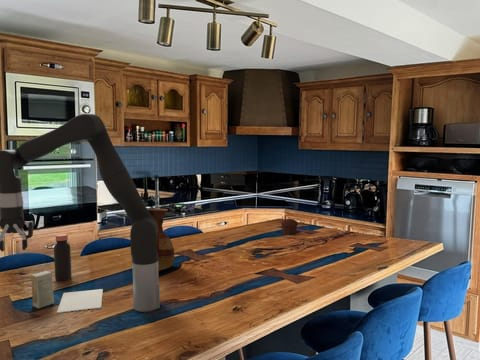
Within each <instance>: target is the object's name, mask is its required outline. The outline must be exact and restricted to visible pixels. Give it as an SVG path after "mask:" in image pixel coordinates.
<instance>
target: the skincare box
mask: <svg viewBox="0 0 480 360" xmlns="http://www.w3.org/2000/svg"><path fill="white" fill-rule="evenodd" d="M30 281H31V294H32V305H33V307H35V308H36V309H40V308H43V307H44V308H45V307H47V306H50V305H53V304H55V299H54V298H55V296H54V283H53V272H51V271H48V270H43V271H40V272H36V273H33V274H30Z"/></svg>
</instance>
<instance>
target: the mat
mask: <svg viewBox="0 0 480 360" xmlns="http://www.w3.org/2000/svg"><path fill="white" fill-rule="evenodd" d="M103 291H104V289H103V288H99V289H91V290H90V289H89V290H79V291H71V292H70V291H69V292H63V294H62V296H61V299H60V303H59V304H58V308H57V311H56V314H62V313H63V314H64V313H71V311H73V312H79V310H81V311H89V310H88V309H90V310H97V309H102V303H103Z"/></svg>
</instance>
